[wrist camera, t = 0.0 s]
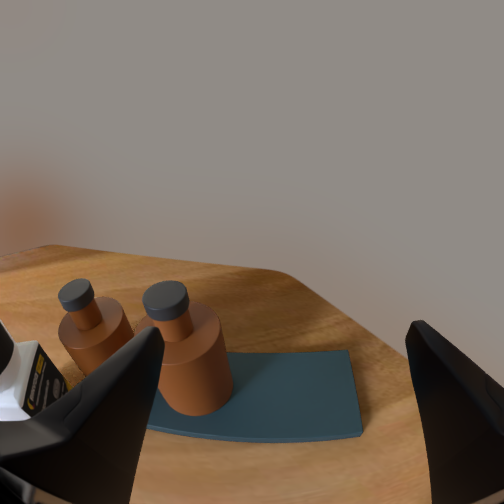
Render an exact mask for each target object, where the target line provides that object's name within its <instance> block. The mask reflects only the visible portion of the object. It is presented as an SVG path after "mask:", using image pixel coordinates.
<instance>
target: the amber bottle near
mask: <svg viewBox="0 0 504 504" xmlns="http://www.w3.org/2000/svg"><path fill="white" fill-rule="evenodd" d="M142 302H143V305H144V307H145V310H146V312H147V315H146V316H145V317H144V318H143V319H142V320H141V321H140V322H139V324H138V326H137V328H136V330H135V333H134V337H135V336H136V335H137V334H138V333H139V332H141V331H142V330H143V329H144V328H145V327H147V326H155V327H158V328H159V330H160V332H161V334H162V337H163V339H164V342H165V350H164V356H163V361H162V367H161V373H160V379H159V384H158V389H159V390H160V392H161V394H162V395H163V397H164V398H165V400H166V402H167V403H168V404H169V406H170V407H172V408H173V409H174V410H175V411H177V412H179V413H181V414H184V415H189V416H202V415H207V414H210V413H213V412H215V411H216V410H218V409H220V408H221V407H222V406H223V405H224V404H225V403H226V402H227V401H228V399H229V398H230V396H231V393H232V390H233V380H232V375H231V371H230V366H229V362H228V357H227V353H226V348H225V343H224V339H223V334H222V329H221V324H220V320H219V318H218V316H217V314H216V313H215V312H214V311H213V310H212V309H211V308H209V307H208V306H206V305H204V304H201V303H198V302H193V301H189V297H188V293H187V289H186V287H185V286H184V285H183V284H182V283H180V282H178V281H162V282H159V283H156V284H154V285H152V286H151V287H149V288H148V289H147V290H146V291H145V293H144V294H143V297H142Z"/></svg>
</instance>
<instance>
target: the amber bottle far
mask: <svg viewBox="0 0 504 504" xmlns="http://www.w3.org/2000/svg"><path fill="white" fill-rule="evenodd" d="M58 298H59V300H60V302H61V304H62V306H63V308H64V309H65V310H66V311H68V313H67V314H66V315H65V316H64V318H63V319H62V321H61V323H60V325H59V329H58V335H59V339H60V341H61V342H62V344H63V345H64V347H65V348H66V350H67V351H68V353H69V354H70V356H71V357H72V359H73V360H74V361H75V363H76V364H77V366H78V367H79V368H80V370H81V371H82V372H83V374H84V375H85V376H86V377H87V376H88V375H89V374H90V373H91V372H93V371H94V370H95V369H96V368H97V367H99V366H100V365H101V364H102V363H103V362H105V361H106V360H107V359H108V358H109V357H111V356H112V355H113V354H114V353H115V352H117V351H118V350H119V349H120V348H121V347H123V346H124V345H125V344H126V343H127V342H129V341H130V340H131V339H132V338H133V337H134V332H133V330H132V328H131V326H130V324H129V322H128V319H127V317H126V315H125V313H124V310H123V308H122V306H121V304H120V303H119V302H118V301H116V300H115V299H113V298H109V297H97V298H94V291H93V288H92V286H91V284H90V282H89V280H87V279H83V278H81V279H76V280H73V281H71V282H69V283H67V284H66V285H65V286H63V287H62V289H61V290H60V291H59V294H58Z"/></svg>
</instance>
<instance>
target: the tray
mask: <svg viewBox="0 0 504 504" xmlns="http://www.w3.org/2000/svg"><path fill="white" fill-rule="evenodd" d="M226 353H227V357H228V362H229V366H230V371H231V375H232V380H233V390H232V393H231V396H230V398H229V399H228V401H227V402H226V403H225V404H224V405H223V406H222V407H221V408H220V409H218V410H216V411H215V412H213V413H210V414H207V415H202V416H189V415H184V414H181V413H179V412H177V411H175V410H174V409H173V408H172V407H170V406H169V404H168V403H167V402H166V400H165V398H164V397H163V395H162V394H161V392H160V390H159V389H158V388H157V391H156V395H155V398H154V402H153V406H152V409H151V413H150V417H149V420H148V424H147V429H151V430H156V431H161V432H166V433H171V434H177V435H183V436H189V437H196V438H204V439H213V440H223V441H236V442H256V443H294V442H314V441H327V440H337V439H345V438H353V437H360V436H361V434H362V433H363V427H362V421H361V415H360V409H359V403H358V398H357V392H356V387H355V382H354V376H353V371H352V367H351V362H350V357H349V352H348V350H338V351H322V352H300V353H230V352H226Z"/></svg>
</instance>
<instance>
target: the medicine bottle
mask: <svg viewBox="0 0 504 504" xmlns="http://www.w3.org/2000/svg"><path fill="white" fill-rule="evenodd" d="M71 389H72V386H71V385H70V384H69V383H68V381H67V380H66V379H65V378H64V377H63V375H62V374H61V373H60V372H59V370H58V369H57V368H56V366H55V365H54V364H53V362H52V361H51V360H50V358H49V357H48V356H47V354H46V353H45V352H44V350H43V349H42V347H41V346H40V344H39V343H38V342H37V341H35V340H34V341H27V342H20V343H16V342H15V341H14V339H13V338H12V336H11V335H10V333H9V332H8V330H7V329H6V327H5V326H4V324H3V322H2V321H1V319H0V421H21V420H26V419H29V418H31V417H33V416H35V415H36V414H38V413H39V412H41V411H42V410H44V409H45V408H46V407H48V406H49V405H51V404H52V403H54V402H55V401H57V400H58V399H59V398H61V397H62V396H63V395H65V394H66V393H67V392H69V391H70V390H71Z"/></svg>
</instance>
